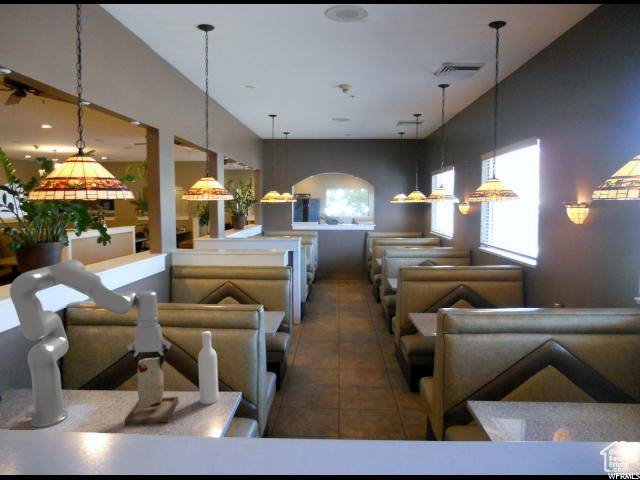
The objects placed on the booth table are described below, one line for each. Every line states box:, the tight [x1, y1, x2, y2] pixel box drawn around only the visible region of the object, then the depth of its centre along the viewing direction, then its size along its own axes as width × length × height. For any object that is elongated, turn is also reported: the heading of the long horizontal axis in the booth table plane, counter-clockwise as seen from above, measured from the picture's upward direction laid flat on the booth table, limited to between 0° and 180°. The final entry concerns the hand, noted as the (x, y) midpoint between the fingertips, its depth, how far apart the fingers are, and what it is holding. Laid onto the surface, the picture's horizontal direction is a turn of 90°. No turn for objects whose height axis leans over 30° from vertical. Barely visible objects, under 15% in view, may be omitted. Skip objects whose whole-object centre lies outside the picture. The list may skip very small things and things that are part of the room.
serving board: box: [124, 396, 179, 427], centre depth 178 cm, size 16×18×2 cm
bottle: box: [197, 330, 220, 405], centre depth 188 cm, size 8×8×30 cm
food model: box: [136, 356, 164, 408], centre depth 177 cm, size 10×7×20 cm
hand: (150, 364), depth 176 cm, fingers closed on food model, 8 cm apart
